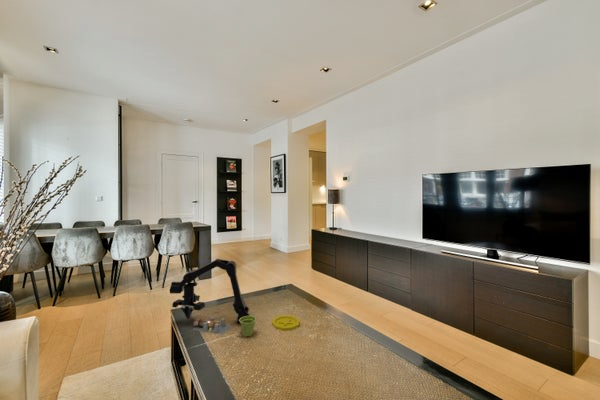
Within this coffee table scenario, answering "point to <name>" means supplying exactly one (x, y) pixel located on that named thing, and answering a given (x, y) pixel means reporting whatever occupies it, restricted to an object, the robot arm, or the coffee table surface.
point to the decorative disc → (285, 322)
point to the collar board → (222, 329)
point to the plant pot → (247, 325)
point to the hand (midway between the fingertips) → (188, 318)
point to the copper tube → (200, 323)
